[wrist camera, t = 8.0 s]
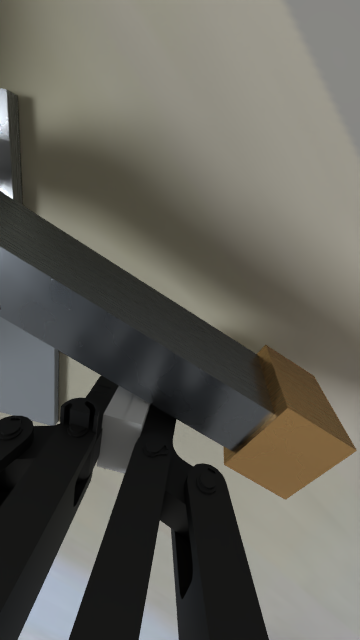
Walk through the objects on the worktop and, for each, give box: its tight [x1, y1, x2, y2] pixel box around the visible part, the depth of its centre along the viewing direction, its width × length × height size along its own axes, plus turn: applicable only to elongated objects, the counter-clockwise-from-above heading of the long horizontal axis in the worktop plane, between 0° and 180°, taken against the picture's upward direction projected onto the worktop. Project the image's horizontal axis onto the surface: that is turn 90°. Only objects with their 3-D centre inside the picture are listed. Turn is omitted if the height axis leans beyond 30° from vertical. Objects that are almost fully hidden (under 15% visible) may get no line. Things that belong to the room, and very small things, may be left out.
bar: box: [0, 191, 357, 500], centre depth 10 cm, size 25×4×4 cm, turn 58°
